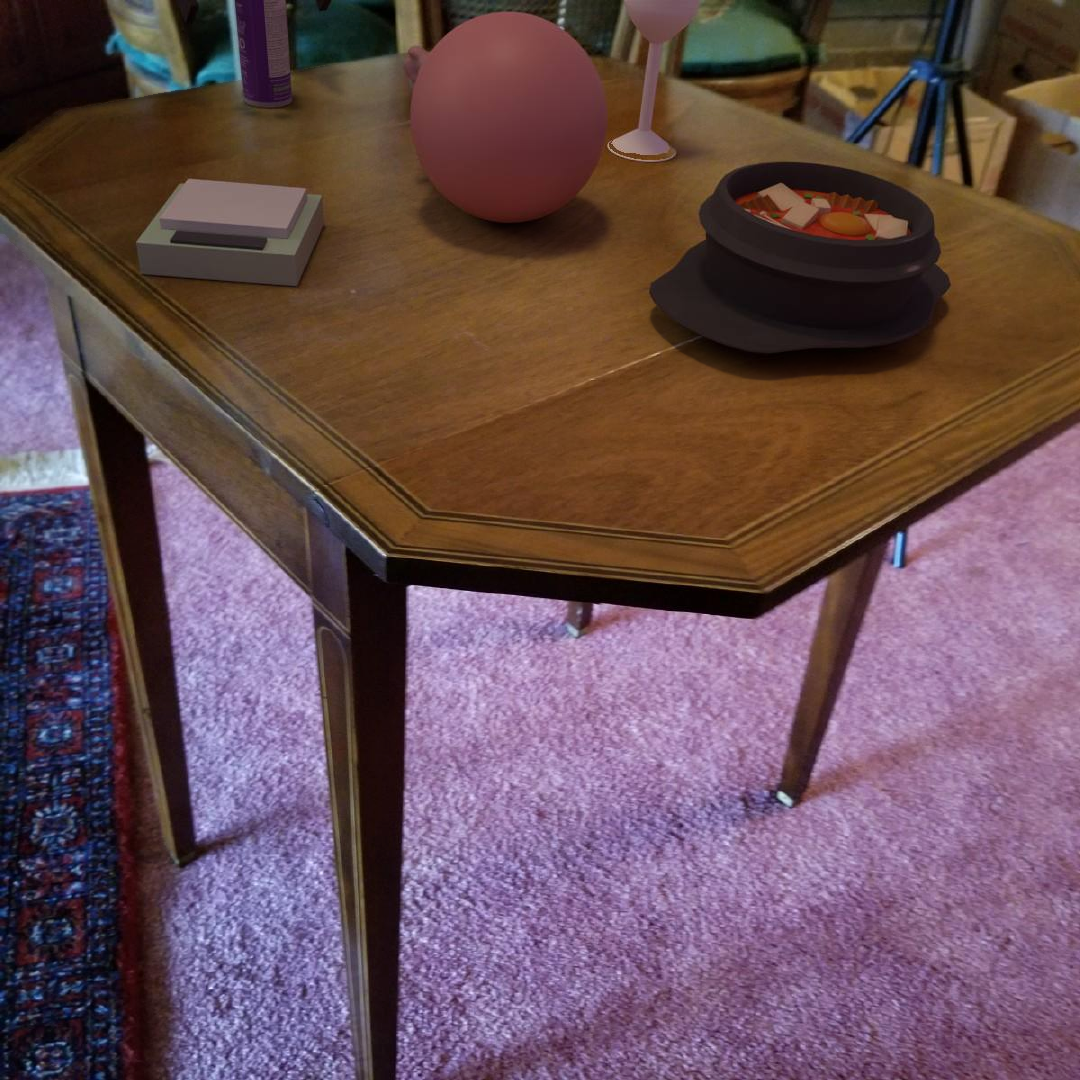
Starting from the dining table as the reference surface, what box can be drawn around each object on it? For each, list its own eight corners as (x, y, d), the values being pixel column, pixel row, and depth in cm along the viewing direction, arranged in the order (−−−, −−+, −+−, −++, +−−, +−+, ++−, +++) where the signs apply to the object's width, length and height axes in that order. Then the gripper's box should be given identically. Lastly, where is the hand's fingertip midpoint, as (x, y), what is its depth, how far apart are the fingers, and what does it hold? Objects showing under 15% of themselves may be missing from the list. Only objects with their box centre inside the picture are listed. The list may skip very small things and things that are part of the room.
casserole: (777, 413, 69) (808, 292, 63) (590, 295, 80) (602, 183, 74) (1001, 320, 82) (1042, 212, 76) (813, 229, 92) (838, 130, 87)
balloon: (487, 152, 101) (496, -30, 91) (634, 229, 90) (661, 30, 80) (344, 181, 93) (337, -16, 83) (485, 271, 81) (496, 54, 72)
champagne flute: (598, 137, 107) (630, -150, 91) (663, 136, 108) (704, -146, 93) (618, 162, 102) (654, -137, 86) (685, 161, 103) (733, -133, 88)
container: (233, 99, 107) (216, -73, 97) (268, 89, 110) (255, -78, 101) (267, 111, 105) (253, -63, 96) (302, 101, 108) (292, -69, 99)
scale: (140, 274, 77) (133, 231, 75) (183, 213, 85) (178, 173, 83) (296, 286, 77) (294, 244, 75) (324, 224, 86) (322, 184, 84)
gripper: (44, -240, 92) (136, -6, 93) (311, -232, 105) (391, -25, 105) (38, -176, 99) (124, 43, 99) (290, -175, 111) (365, 20, 112)
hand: (262, 9), depth 102 cm, fingers open, 13 cm apart
